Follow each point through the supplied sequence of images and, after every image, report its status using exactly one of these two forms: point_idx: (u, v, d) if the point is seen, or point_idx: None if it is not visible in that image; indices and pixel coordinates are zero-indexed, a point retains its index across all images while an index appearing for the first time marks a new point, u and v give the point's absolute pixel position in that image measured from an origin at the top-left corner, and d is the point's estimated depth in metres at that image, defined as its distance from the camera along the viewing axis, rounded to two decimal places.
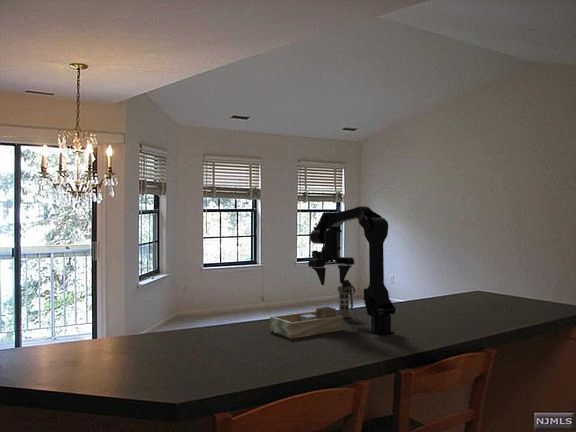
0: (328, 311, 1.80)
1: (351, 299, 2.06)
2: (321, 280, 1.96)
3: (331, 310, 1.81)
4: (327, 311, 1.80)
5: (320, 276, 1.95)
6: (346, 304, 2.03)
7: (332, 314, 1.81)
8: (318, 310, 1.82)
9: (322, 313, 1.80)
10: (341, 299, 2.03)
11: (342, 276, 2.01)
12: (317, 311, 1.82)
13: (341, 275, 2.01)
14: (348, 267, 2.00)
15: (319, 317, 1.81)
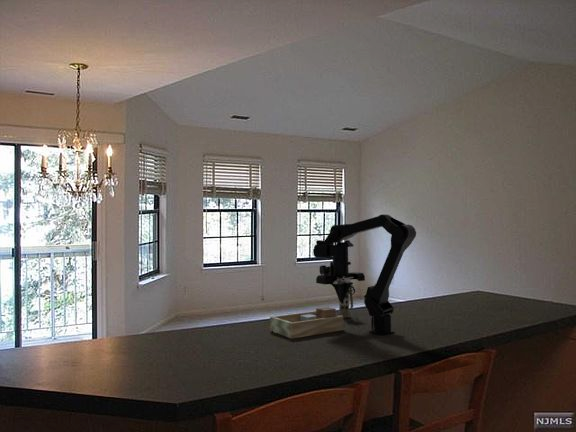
0: (328, 311, 1.80)
1: (351, 299, 2.06)
2: (339, 296, 1.85)
3: (331, 310, 1.81)
4: (327, 311, 1.80)
5: (338, 292, 1.85)
6: (346, 304, 2.03)
7: (332, 314, 1.81)
8: (318, 310, 1.82)
9: (322, 313, 1.80)
10: None
11: None
12: (317, 311, 1.82)
13: None
14: (349, 284, 1.85)
15: (319, 317, 1.81)
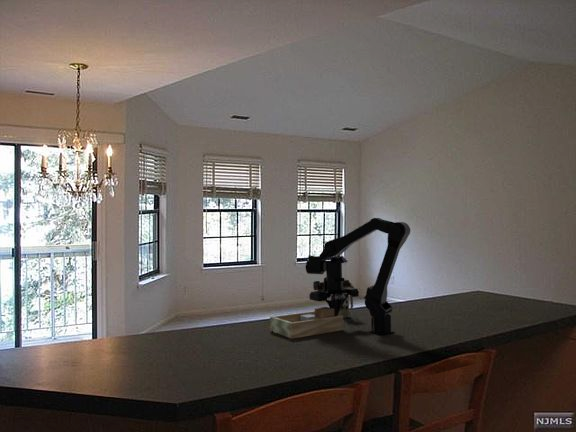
0: (327, 311, 1.80)
1: (351, 299, 2.06)
2: None
3: (330, 310, 1.80)
4: (325, 311, 1.79)
5: None
6: (346, 304, 2.03)
7: (331, 314, 1.81)
8: (317, 310, 1.82)
9: (321, 313, 1.80)
10: None
11: None
12: (316, 311, 1.82)
13: None
14: (343, 301, 1.83)
15: (318, 317, 1.81)
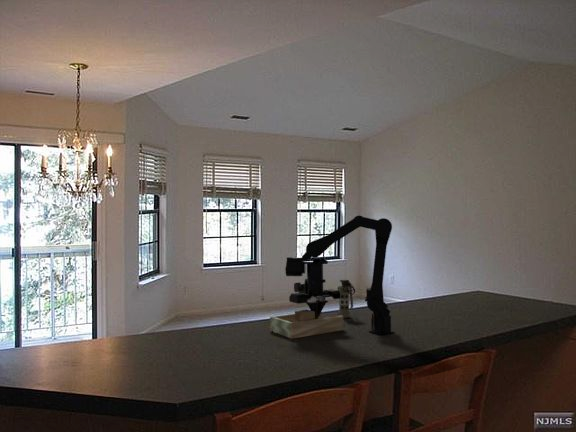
0: (307, 314, 1.75)
1: (351, 299, 2.06)
2: None
3: (310, 313, 1.76)
4: (305, 314, 1.75)
5: None
6: (346, 304, 2.03)
7: (311, 317, 1.76)
8: (297, 313, 1.77)
9: (301, 316, 1.75)
10: (341, 299, 2.03)
11: None
12: (296, 313, 1.78)
13: None
14: (323, 303, 1.79)
15: (298, 320, 1.77)
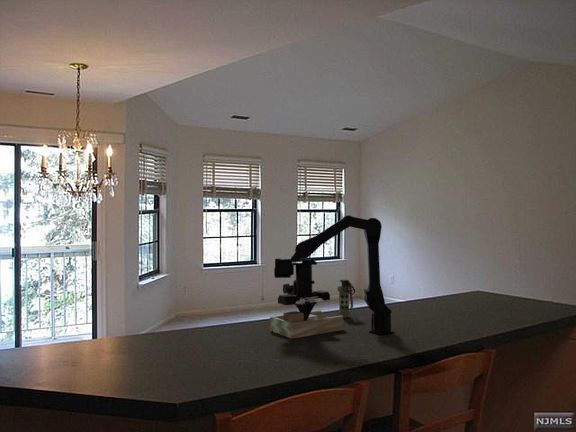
0: (295, 315, 1.73)
1: (351, 299, 2.06)
2: None
3: (299, 314, 1.73)
4: (294, 316, 1.72)
5: None
6: (346, 304, 2.03)
7: (300, 319, 1.73)
8: (285, 314, 1.75)
9: (289, 317, 1.72)
10: (341, 299, 2.03)
11: None
12: (285, 315, 1.75)
13: None
14: (312, 304, 1.76)
15: None
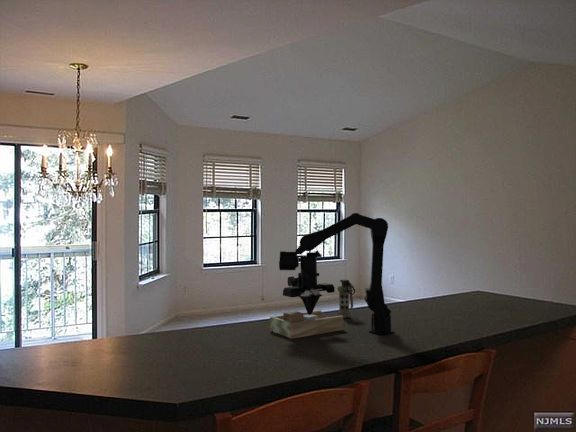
0: (295, 315, 1.73)
1: (351, 299, 2.06)
2: (307, 309, 1.78)
3: (298, 314, 1.73)
4: (294, 316, 1.72)
5: (306, 305, 1.78)
6: (346, 304, 2.03)
7: (300, 319, 1.73)
8: (285, 314, 1.75)
9: (289, 317, 1.72)
10: (341, 299, 2.03)
11: None
12: (285, 315, 1.75)
13: None
14: (317, 297, 1.77)
15: None
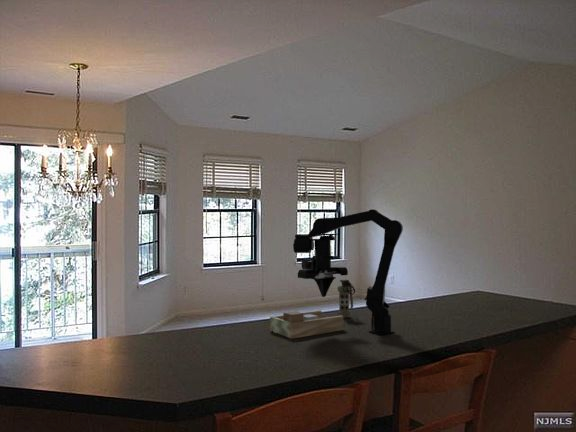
0: (295, 315, 1.73)
1: (351, 299, 2.06)
2: (321, 291, 1.81)
3: (298, 314, 1.73)
4: (294, 316, 1.72)
5: (320, 287, 1.81)
6: (346, 304, 2.03)
7: (300, 319, 1.73)
8: (285, 314, 1.75)
9: (289, 317, 1.72)
10: (341, 299, 2.03)
11: None
12: (285, 315, 1.75)
13: None
14: (331, 279, 1.81)
15: None
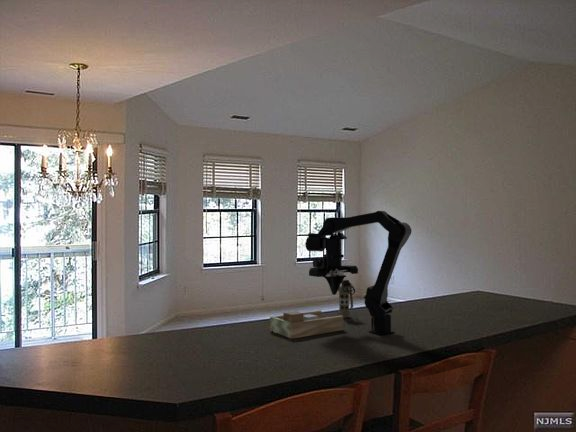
0: (295, 315, 1.73)
1: (351, 299, 2.06)
2: (332, 289, 1.85)
3: (298, 314, 1.73)
4: (294, 316, 1.72)
5: (331, 285, 1.85)
6: (346, 304, 2.03)
7: (300, 319, 1.73)
8: (285, 314, 1.75)
9: (289, 317, 1.72)
10: (341, 299, 2.03)
11: None
12: (285, 315, 1.75)
13: None
14: (342, 277, 1.84)
15: None
